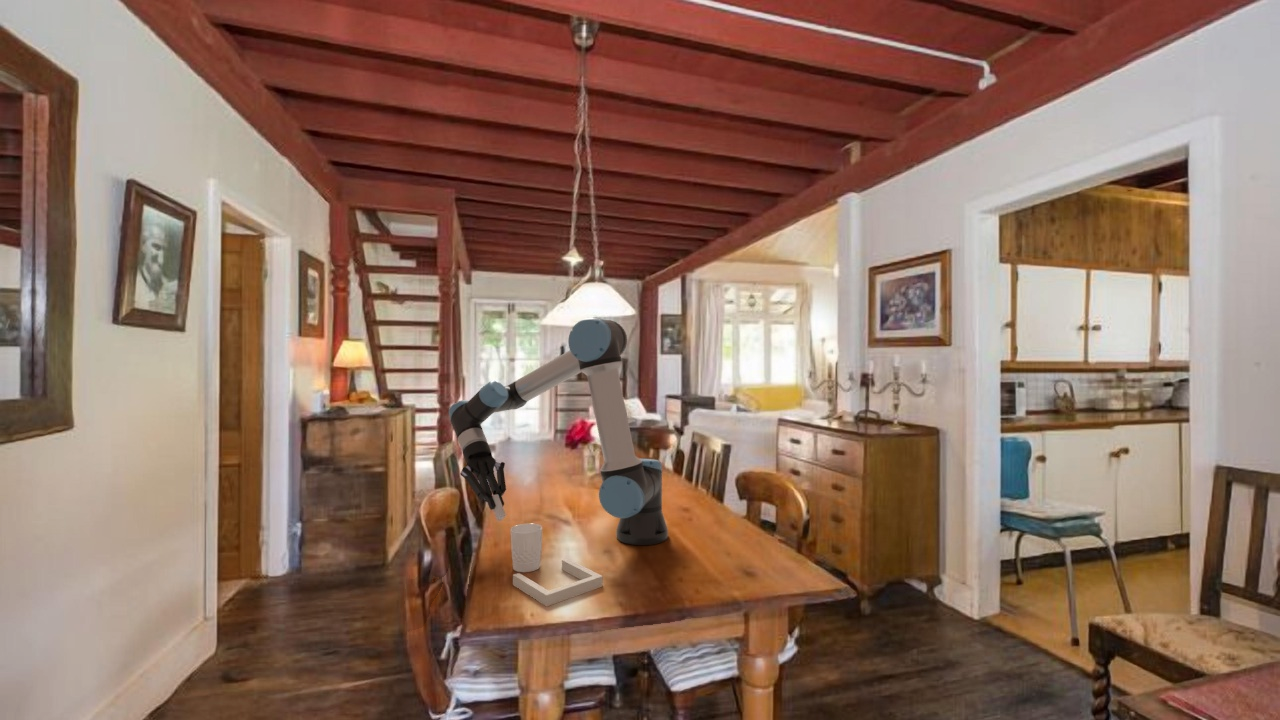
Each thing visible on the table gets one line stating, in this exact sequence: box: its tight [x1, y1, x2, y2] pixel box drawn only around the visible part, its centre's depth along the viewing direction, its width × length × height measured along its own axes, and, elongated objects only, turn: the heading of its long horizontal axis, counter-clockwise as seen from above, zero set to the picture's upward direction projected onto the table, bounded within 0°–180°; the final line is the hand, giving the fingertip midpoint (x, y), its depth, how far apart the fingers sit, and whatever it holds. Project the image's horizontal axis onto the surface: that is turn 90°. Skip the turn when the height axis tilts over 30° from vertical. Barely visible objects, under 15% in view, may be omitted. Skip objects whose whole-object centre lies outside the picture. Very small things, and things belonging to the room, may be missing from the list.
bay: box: [512, 558, 604, 607], centre depth 127 cm, size 15×15×2 cm
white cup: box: [510, 522, 543, 573], centre depth 138 cm, size 8×8×10 cm
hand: (501, 517), depth 146 cm, fingers closed
